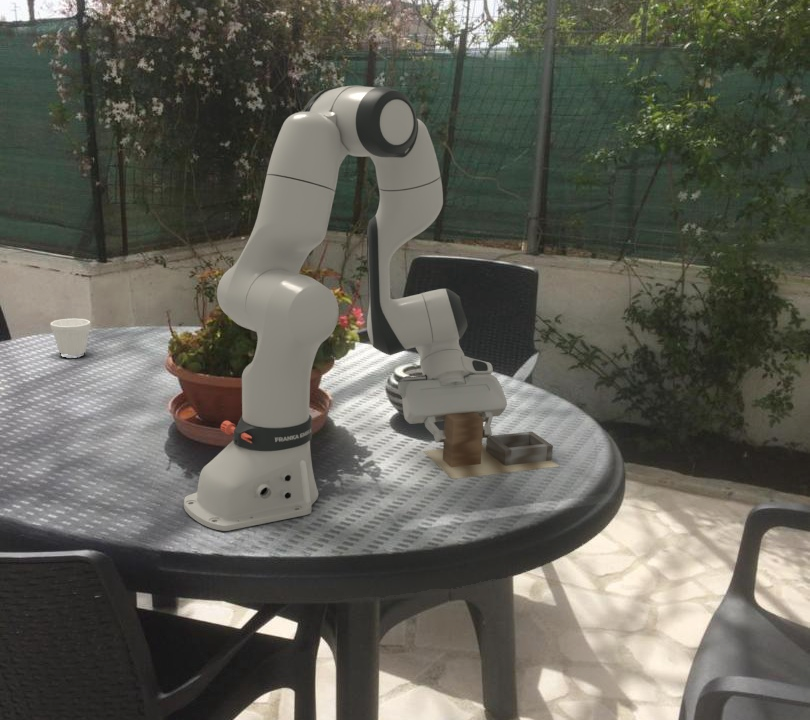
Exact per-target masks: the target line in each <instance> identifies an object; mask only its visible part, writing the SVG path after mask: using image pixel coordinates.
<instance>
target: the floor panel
mask: <svg viewBox="0 0 810 720" xmlns="http://www.w3.org/2000/svg"><path fill="white" fill-rule="evenodd" d="M553 447H554V445H553V444H551V443H550V442H548V441H547V440H545V439H544V438H542V437H541V436H539V435H538V434H537V433H535V432H533V431H525V432H514V433H506V434H505V433H503V434H495V435H494V434H492V435H491V436H490V437H489V438H486V443H485V444H482V451H481V464H476V465H467V466H458V467H450V466H449V465H448V464H447V463H446V462H445V461H444V460H443V448H440V449H439V448H438V449H431V450H423V451H422V452H423V453H424V454H425V455H426V456H428V458H429V459H430V460H432V461H433V463H435V464H436V465H437V466H438V467H439V468H440V469H441V470H442V471H443V472H444V473H445V474H446V475H447V476H448V477H449V478H450V479H452V480H454V479H456V480H457V479H464V478H465V479H466V478H473V477H481V476H490V475H499V474H507V473H508V474H509V473H515V472H524V471H525V472H526V471H531V470H541V469H550V468H558V467H560V465H559V464H558V463H556V462H555V461H553V460H552V459H553Z"/></svg>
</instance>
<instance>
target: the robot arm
mask: <svg viewBox="0 0 810 720" xmlns="http://www.w3.org/2000/svg"><path fill="white" fill-rule="evenodd" d="M347 156H352V157H361V158H363V157H369V158H370V159H371V161H372V162H373V163H372V164H374V167H375V174H376V180H377V186H378V191H379V203H378V208H377V210H376V214H375V215H374V216H373V217H372V218H370V219H369V220H368V223H367V224H368V225H367V229H366V230H367V231H366V264H367V265H366V267H367V268H366V269H367V294H368V311H367V318H366V319H367V320H366V328H367V329H366V330H367V334H368V339H369V342H370V344H371V345H372V347H373V348H374V349H376V350H377V351H379V352H381V353H383V354H385V355H388V356H392V355H395V354H399V353H403V352H405V351H407V350H409V349H413V348H415V349H416V351H417V352H418V355H419V358H420V359H419V366H420V369H421V373H422V375H415V376H409V375H407V376H403V378H401V379H399V381H398V383H397V388H398V389H397V390H398V392H399V393H398V394H399V395H400V396H401V398H402V399H401V402H402V410H403V412H402V413H403V417H404V420H405V421H406V422H407V423H408V424H410V425H411V424H413V425H414V424H423V423H424V426H425V429H427V430H428V431H429V433H430V434H431V435H433V438H434V441H435V443H444V440H445V439H446V437H445V435H444V434H445V433H444V429H443V430H442V429H440V428H438V426H437V425H436V424H435V423H437V422H445V415H447V414H459V413H470V412H476V413H477V414H478V415H480V416H481V417H482V418H484V420H483V423H484V424H483V435H482V439H487V438H489V437H490V436H493V431H492V427H491V425H492V421H493V418H494V417H499V416H501V415H502V414H503V413H504V411H505V410H506V408H507V406H508V402H507V397H506V395H505V393H504V390H503V387H502V385H501V383H500V381H499V379H498V378H497V377H496V376H495V375H493V374H492V373H493V365H492V364H491V362H488V361H483V360H481V359H476V358H473V357H469V356H466V355H465V353H464V351H463V350H462V348H461V346H460V342H459V341H460V340H461V339H462V338H463V336H464V334H465V332H466V330H467V328H468V320H467V317H466V314H465V311H464V308H463V305H462V301H461V297H460V295H458V294H457V293H455V291H452V290H450V289H449V288H438V289H434V290H429V291H426V292H425V291H423V292H421V293H419V294H418V293H417V294H414V295H409V296H406V297H401V298H395V299H393V298H391V277H390V275H391V273H390V271H391V270H390V267H391V265H390V264H391V260H392V258H393V255H394V254H395V253H396V252H397V251H398V250H399V248H401V247H402V246H403V245H404V244H406V243H407V242H409V241H410V240H411V239H413V238H414V237H416V236H418V235H420V234H422V232H424V231H425V230H427V229H428V228H429V227H430V226H431V225H432V224H433V223H434V222H435V220H436V219H437V218H438V216H439V215H440V214H441V213H440V212H441V210H442V208H443V206H444V205H443V204H444V193H443V183H442V177H441V171H440V166H439V162H438V158H437V154H436V151H435V148H434V144H433V141H432V139H431V136H430V132H429V131H428V128H427V126H426V125H425V123H424V122H423V120H420V119H419V118H417V113H416V110H415V108H414V106H413V104H412V102H411V101H410V99H409V98H408V96H406V95H405V94H404V93H402V92H401V91H399V90H397V89H394V88H390V87H386V86H377V87H373V86H363V85H357V84H356V85H347V86H340V87H329V88H325V89H323V90H320V91H319V92H317V93H315V94H314V95H313V96H312V97H311V98H310V99H309V100H308V102H307V103H306V105H305V107H304V109H303V111H298V112H295V113H293V114H291V115H289V116H288V117H287V118H286V119H285V120H284V122H283V124H282V125H281V128H280V130H279V133H278V136H277V138H276V141H275V143H274V146H273V150H272V153H271V156H270V159H269V163H268V167H267V172H266V177H265V182H264V185H263V189H262V194H261V199H260V204H259V208H258V212H257V217H256V220H255V223H254V226H253V229H252V231H251V233H250V236H249V238H248V240H247V243H246V244H245V247H244V248H243V250H242V252H241V254H240V256H239V257H238V259H237V261H236V262H235V263H234V265H232V266H231V267H230V268H229V269H227V271H225V273H224V274H223V275H222V276H221V278H220V279H219V282H218V284H217V290H216V298H217V301H218V305H219V307H220V309H221V310H222V311H223V313H224V314H225V315H226V316H227V317H228V318H229V319H231V320H232V321H233V322H234V323H235V324H237V325H238V326H239V327H242V328H244V329H247V330H250V331H252V332H256V336H257V344H256V348H255V352H254V357H253V358H252V361H251V362H250V363H249V364H248V365H246V366H245V367H244V369H243V372H242V374H241V405H242V406H241V408H242V409H241V411H242V415H241V416H240V418H239V420H238V422H237V425H236V424H235V423H232V422H231V421H229V420H224V421H223V422H222V423H221V424H220V430H221V432H223V433H225V434H226V435H229V436H232V435H233V436H232V441H231V442H229V444H228V445H226V446H225V447H224V448H223V449H222V450H221V451H220V452H219V453H218V454H217V455H216V456H215V457H214V458H213V459H212V460H210V461H209V462H208V463H207V464H205V465H204V466H203V468H202V469H201V471H200V474H199V477H198V483H197V484H198V485H197V489H196V490H197V491H195V492H193V493H191V494H188V495H186V496H185V497H184V499H183V508H184V510H185V513H187V514H188V516H189V517H190V518H192V520H195V521H196V522H197V523H199V524H201V525H203V526H205V527H208V528H210V529H213V530H218V531H223V532H227V531H233V530H239V529H243V528H249V527H253V526H254V527H255V526H257V525H263V524H269V523H273V522H279V521H282V520H287V519H293V518H297V517H298V518H299V517H302V516H308V515H310V514H312V508H313V507H312V506H313V505H314V503H315V502H316V501H317V500H318V498H319V496H320V495H319V491H318V487H317V484H316V481H315V476H314V475H315V474H314V470H313V463H312V453H311V443H312V437H313V422H312V421H313V419H312V416H311V414H310V399H311V398H310V397H311V396H310V395H311V392H310V391H311V375H312V370H313V365H314V361H315V358H316V355H317V352H318V350H319V348H320V346H321V345H322V344H323V342H325V341H326V340H328V339H329V337H330V336H331V335H332V334H333V332H334V331H335V328H336V326H337V324H338V321H339V317H340V316H339V315H340V314H339V313H340V309H339V303H338V299H337V297H336V296H335V294H334V293H333V292H332V290H331V289H329V288H328V287H327V286H325V285H324V284H323V283H321V282H320V281H318V280H317V279H314V278H313V277H312V276H308V275H305V274H301V273H300V272H301V270H302V267H303V264H304V263H305V261H306V259H307V258H308V256H309V255H310V254H311V252H312V251H313V250H314V249H315V248H317V247H318V246H319V245H320V244H321V243H322V242H323V241H324V240H325V238H326V235H327V232H328V226H329V222H330V218H331V213H332V207H333V204H334V198H335V195H336V188H337V186H338V185H337V183H338V177H339V171H340V167H341V165H342V163H343V161H344V160H345V158H346V157H347Z"/></svg>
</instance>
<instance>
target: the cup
mask: <svg viewBox="0 0 810 720" xmlns="http://www.w3.org/2000/svg"><path fill="white" fill-rule="evenodd" d="M50 329H51V331H52V333H53V337H54V340H55V343H56V346H57V349H58V352H60V353H61V354H68V355H76V354H82V353H84V352H85V353H86V351H87V346H88V339H89V334H90V329H91V321H90V320H88V319H86V318H62V319H61V318H60V319H55V320H52V321H50ZM60 353H59V354H60Z"/></svg>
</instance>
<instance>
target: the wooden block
mask: <svg viewBox="0 0 810 720" xmlns="http://www.w3.org/2000/svg"><path fill="white" fill-rule="evenodd" d="M483 420H484V418H482V417H481V416H480V415H478V414H477V413H476V412H470V413H459V414H447V415H445V421H444V426H443V427H444V429H443V430H444V433H445V434H444V435H445V437H446V439H445V440H444V442H443V448H442V449H443V460H444V461H445V462H446V463H447V464H448V465H449V466H450V467H458V466H467V465H476V464H481V451H482V445H483V438H482V435H483V426H484V422H483Z"/></svg>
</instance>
